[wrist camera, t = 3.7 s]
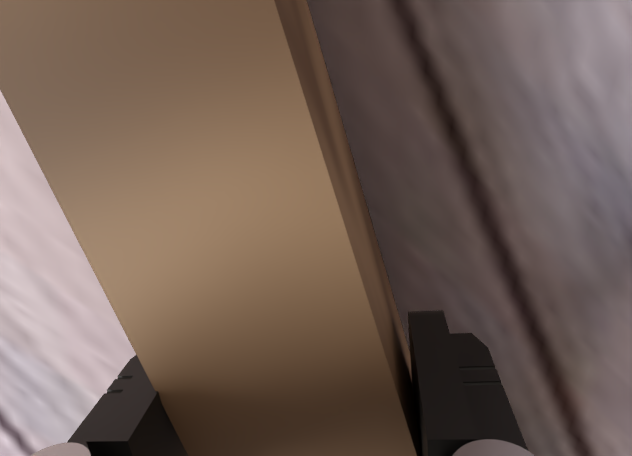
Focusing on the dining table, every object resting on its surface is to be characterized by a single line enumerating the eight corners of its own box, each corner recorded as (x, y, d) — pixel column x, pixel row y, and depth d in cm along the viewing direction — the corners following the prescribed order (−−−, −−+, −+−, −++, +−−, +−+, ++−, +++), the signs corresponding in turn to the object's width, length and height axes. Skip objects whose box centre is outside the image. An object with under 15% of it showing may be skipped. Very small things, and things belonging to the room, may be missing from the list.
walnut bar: (8, -226, 9) (-270, -437, 5) (208, -334, 8) (58, -690, 4) (366, 624, 16) (365, 799, 12) (486, 615, 15) (525, 799, 11)
